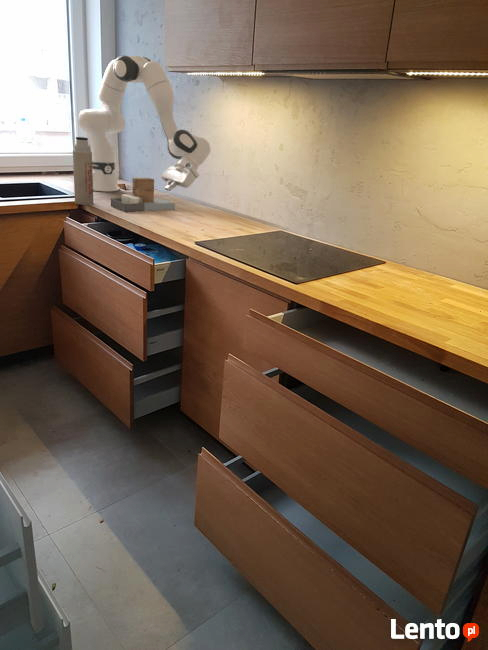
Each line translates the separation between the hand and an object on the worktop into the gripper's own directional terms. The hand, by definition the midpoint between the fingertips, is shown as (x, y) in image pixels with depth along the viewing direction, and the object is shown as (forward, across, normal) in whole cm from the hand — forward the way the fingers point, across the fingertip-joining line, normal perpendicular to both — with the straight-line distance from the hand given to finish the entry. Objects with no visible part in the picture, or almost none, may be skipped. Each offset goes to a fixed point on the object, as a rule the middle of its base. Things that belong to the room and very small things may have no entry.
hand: (166, 189), depth 230 cm
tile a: (+16, -2, -9) cm, 19 cm away
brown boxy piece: (+12, 0, -5) cm, 13 cm away
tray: (+20, 0, -9) cm, 22 cm away
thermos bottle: (+30, -16, -18) cm, 38 cm away
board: (+11, 0, 0) cm, 11 cm away
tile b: (+16, +3, -9) cm, 18 cm away
